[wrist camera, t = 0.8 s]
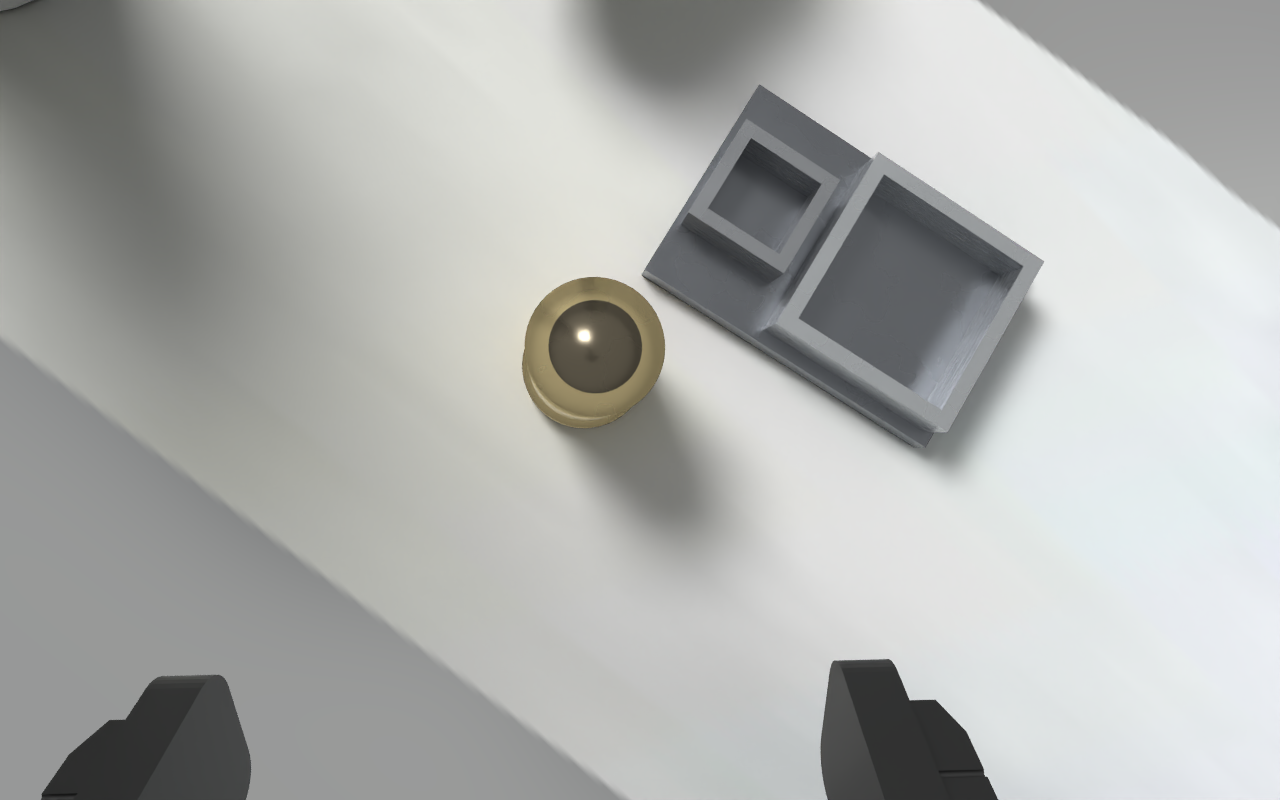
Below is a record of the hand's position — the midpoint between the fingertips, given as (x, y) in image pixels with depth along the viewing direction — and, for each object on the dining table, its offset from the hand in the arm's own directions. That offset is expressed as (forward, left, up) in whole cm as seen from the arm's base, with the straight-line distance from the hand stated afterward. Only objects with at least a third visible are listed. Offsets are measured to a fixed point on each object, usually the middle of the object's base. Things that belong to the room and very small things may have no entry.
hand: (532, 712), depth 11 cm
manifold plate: (+6, +17, -26) cm, 31 cm away
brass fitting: (-2, +7, -26) cm, 27 cm away
